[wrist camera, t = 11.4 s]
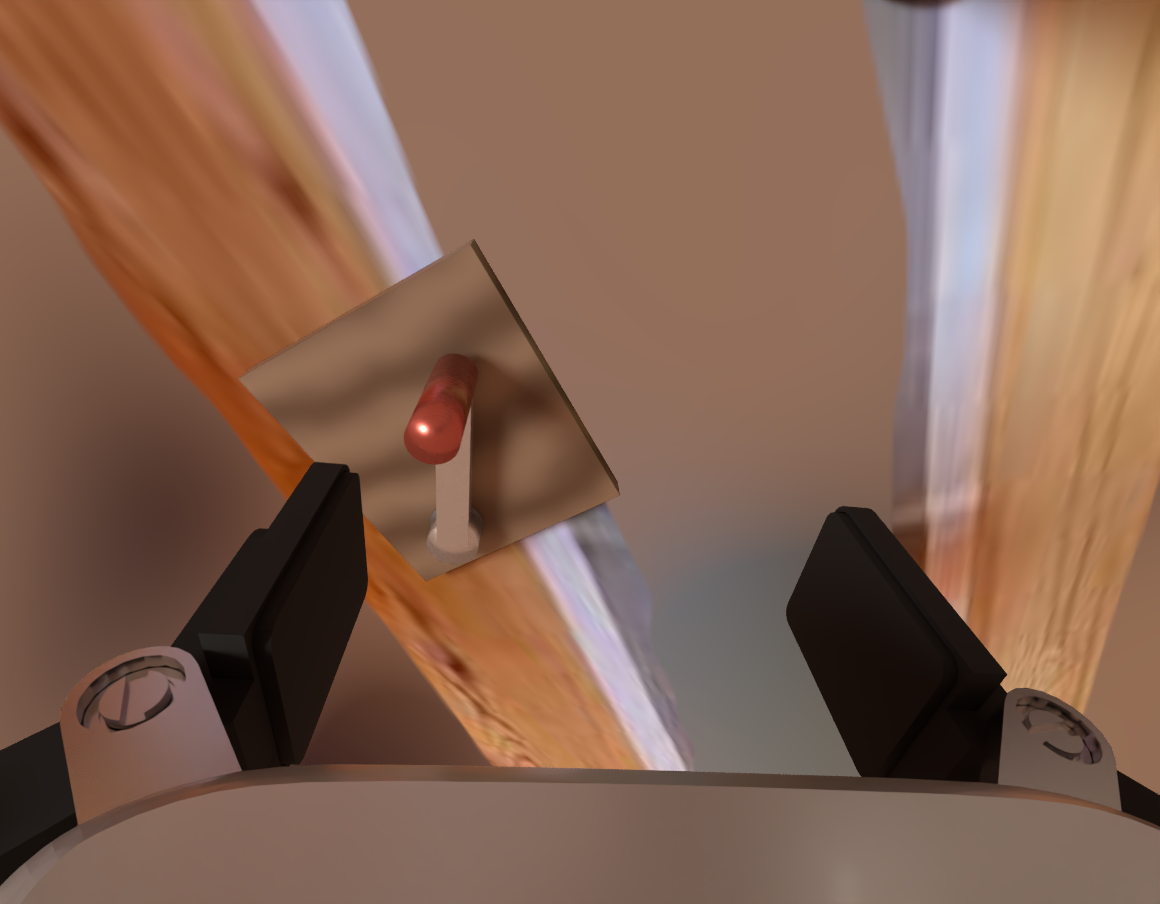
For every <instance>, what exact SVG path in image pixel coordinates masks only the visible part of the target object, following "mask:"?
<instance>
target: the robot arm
mask: <svg viewBox="0 0 1160 904" xmlns="http://www.w3.org/2000/svg"><path fill="white" fill-rule="evenodd" d="M367 585H368V574H367V562H366V549H365V537H364V525H363V512H362V500H361V488H360V478H359V474H358V473H352V472H350V469H349V467H348V465H346V464H336V463H325V462H314V463H313V464H312V465H311V466H310V468H309V469H308V471H307V472H306V474H305V475H304V477H303V478H302V480H301V481H300V483H299V484H298V486H297V487H296V488H295V490H294V491H293V493H292V494H291V496H290V497H289V499H288V500H287V502H286V503H285V505H284V506H283V508H282V509H281V511H280V512H279V514H278V515H277V517H276V518H275V520H274V521H273V523H272V524H271V526H270V527H269V529H257V530H255V531H254V532H253V533H252V534H251V535H250V536H249V537H248V539H247V540H246V541H245V543H244V544H243V546H242V547H241V548H240V550H239V551H238V553H237V554H236V555H235V557H234V558H233V560H232V561H231V563H230V564H229V565H228V567H227V568H226V569H225V571H224V572H223V574H222V575H221V576H220V578H219V579H218V581H217V582H216V584H215V585H214V586H213V588H212V589H211V591H210V592H209V594H208V595H207V596H206V598H205V599H204V601H203V602H202V603H201V605H200V606H199V608H198V609H197V610H196V612H195V613H194V615H193V616H192V617H191V619H190V620H189V622H188V623H187V624H186V626H185V627H184V629H183V630H182V632H181V633H180V634H179V636H178V637H177V638H176V640H175V641H174V643H173V644H172V646H171V647H166V646H157V647H148V648H141V649H138V650H135V651H132V652H129V653H125V654H122V655H120V656H118V657H116V658H114V659H112V660H110V661H108V662H106V663H104V664H102V665H100V666H99V667H98V668H96V669H95V670H94V671H92V672H91V673H89V674H88V675H86V676H85V677H84V678H83V679H82V680H81V681H80V682H79V683H78V684H77V685H76V686H75V687H74V689H72V691H71V692H70V693H69V695H68V696H67V698H66V700H65V702H64V704H63V706H62V708H61V715H60V722H58V723H56V724H54V725H52V726H50V727H48V728H46V729H44V730H42V731H40V732H38V733H35V734H33V735H31V736H29V737H27V738H25V739H23V740H21V741H19V742H17V743H15V744H13V745H11V746H9V747H7V748H5V749H2V750H0V904H1160V795H1158V794H1157V793H1155V792H1153V791H1151V790H1150V789H1148V788H1146V787H1144V786H1143V785H1141V784H1139V783H1138V782H1136V781H1135V780H1133V779H1131V778H1129V777H1128V776H1126V775H1124V774H1122V773H1121V772H1119V771H1117V769H1116V761H1115V757H1114V754H1113V751H1112V748H1111V746H1110V744H1109V743H1108V741H1107V740H1106V739H1105V737H1104V735H1103V734H1102V733H1101V732H1100V731H1099V730H1098V729H1097V728H1096V727H1095V726H1094V725H1093V724H1092V722H1091V721H1090V720H1088V719H1087V718H1086V717H1085V716H1084V715H1082V714H1081V713H1080V712H1078V711H1077V710H1076V709H1075V708H1073V707H1072V706H1070V705H1068V704H1067V703H1065V702H1063V701H1062V700H1060V699H1058V698H1056V697H1054V696H1052V695H1049V694H1047V693H1044V692H1042V691H1038V690H1034V689H1030V688H1015V689H1013V690H1012V691H1010V692H1008V693H1006V691H1005V690H1004V689H1003V688H1002V686H1001V685H1000V683H1001V682H1002V681H1003V679H1004V678H1005V677H1006V676H1007V673H1006V672H1005V671H1004V670H1003V669H1002V667H1001V666H1000V665H999V664H998V662H997V661H996V660H995V659H994V658H993V656H992V655H991V654H990V653H989V651H988V650H987V649H986V648H985V647H984V645H983V644H982V643H981V642H980V640H979V639H978V638H977V637H976V636H975V634H974V633H973V632H972V631H971V629H970V628H969V627H968V626H967V625H966V623H965V622H964V621H963V620H962V618H961V617H960V616H959V615H958V613H957V612H956V611H955V610H954V609H953V607H952V606H951V605H950V604H949V602H948V601H947V600H946V599H945V598H944V596H943V595H942V594H941V593H940V591H939V590H938V589H937V588H936V587H935V585H934V584H933V583H932V582H931V580H930V579H929V578H928V577H927V576H926V574H925V573H924V572H923V571H922V569H921V568H920V567H919V566H918V564H917V563H916V562H915V561H914V560H913V558H912V557H911V556H910V555H909V553H908V552H907V551H906V550H905V549H904V547H903V546H902V545H901V544H900V542H899V541H898V540H897V539H896V538H895V536H894V535H893V534H892V533H891V531H890V530H889V529H888V528H887V527H886V525H885V524H884V523H883V522H882V520H881V519H880V518H879V517H878V516H877V514H876V513H875V512H874V511H873V510H871V509H868V508H859V507H847V506H842V507H839V508H838V509H837V510H836V511H835V512H833V513H830V514H829V515H828V516H827V518H826V520H825V522H824V524H823V527H822V529H821V531H820V533H819V536H818V538H817V540H816V543H815V544H814V547H813V549H812V551H811V553H810V556H809V558H808V560H807V562H806V565H805V567H804V569H803V571H802V573H801V576H800V578H799V580H798V582H797V584H796V587H795V589H794V591H793V593H792V596H791V598H790V600H789V602H788V605H787V609H786V616H787V621H788V624H789V626H790V628H791V630H792V632H793V634H794V637H795V638H796V641H797V643H798V645H799V647H800V649H801V651H802V653H803V656H804V658H805V660H806V662H807V664H808V666H809V669H810V671H811V673H812V675H813V677H814V679H815V681H816V683H817V686H818V688H819V690H820V692H821V694H822V696H823V698H824V700H825V703H826V705H827V707H828V709H829V711H830V713H831V715H832V717H833V720H834V722H835V724H836V726H837V728H838V730H839V732H840V735H841V737H842V739H843V741H844V743H845V745H846V747H847V750H848V752H849V754H850V756H851V758H852V760H853V762H854V764H855V767H856V769H857V771H858V772H859V774H860V775H861V777H847V776H818V775H816V776H815V775H788V774H758V773H756V774H755V773H725V772H691V771H655V770H619V769H581V768H537V767H493V766H448V765H447V766H446V765H314V766H290V764H295V765H297V764H300V763H301V761H302V760H303V758H304V756H305V753H306V751H307V748H308V746H309V743H310V740H311V738H312V735H313V733H314V730H315V727H316V725H317V722H318V719H319V717H320V714H321V712H322V709H323V706H324V704H325V701H326V698H327V696H328V693H329V691H330V688H331V685H332V683H333V680H334V677H335V675H336V672H337V669H338V667H339V664H340V662H341V659H342V656H343V654H344V651H345V649H346V646H347V643H348V641H349V638H350V635H351V633H352V630H353V627H354V625H355V622H356V620H357V617H358V614H359V612H360V609H361V606H362V604H363V601H364V599H365V595H366V591H367Z"/></svg>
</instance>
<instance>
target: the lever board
mask: <svg viewBox="0 0 1160 904" xmlns="http://www.w3.org/2000/svg"><path fill="white" fill-rule="evenodd" d="M452 353H454V354H461V355H464V356H466V357H467V358H469V359H470V360H471V361H472V362H473V363H474V364H475V366H476V368H477V370H478V381H477V385H476V389H475V393H474V408H473V448H472V488H471V513H473V514H474V515H475V516H476V517H477V518H478V520H479V521H480V524H481V534H480V540H479V546H478V551H477V553H476V555H475V556H474V557H473V558H472V559H471V560H469V561H468V562H470V561H473V560H475V559H477V558H479V557H482V556H484V555H486V554H488V553H491V552H493V551H495V550H498V549H500V548H502V547H504V546H507V545H509V544H511V543H513V542H516V541H518V540H520V539H522V538H525V537H527V536H529V535H531V534H534V533H536V532H538V531H540V530H543V529H545V528H547V527H549V526H552V525H554V524H556V523H558V522H561V521H563V520H565V519H568V518H570V517H572V516H574V515H577V514H579V513H581V512H583V511H586V510H588V509H590V508H592V507H595V506H597V505H599V504H601V503H604V502H606V501H608V500H610V499H613V498H615V497H617V496H619V495H620V493H619V488H618V482H617V480H616V478H615V477H614V475H613V473H612V472H611V470H610V468H609V467H608V465H607V463H606V461H605V460H604V458H603V456H602V455H601V453H600V451H599V450H598V448H597V446H596V445H595V443H594V441H593V440H592V438H591V436H590V434H589V433H588V431H587V429H586V428H585V426H584V424H583V423H582V421H581V419H580V417H579V416H578V414H577V412H576V411H575V409H574V407H573V406H572V404H571V402H570V401H569V399H568V397H567V396H566V394H565V392H564V391H563V389H562V387H561V385H560V384H559V382H558V380H557V379H556V377H555V375H554V373H553V372H552V370H551V368H550V367H549V365H548V363H547V362H546V360H545V358H544V357H543V355H542V353H541V351H540V350H539V348H538V346H537V345H536V343H535V341H534V340H533V338H532V336H531V334H530V333H529V331H528V329H527V328H526V326H525V324H524V323H523V321H522V319H521V318H520V316H519V314H518V312H517V311H516V309H515V307H514V306H513V304H512V302H511V301H510V299H509V297H508V296H507V294H506V292H505V290H504V289H503V287H502V285H501V284H500V282H499V280H498V279H497V277H496V275H495V274H494V272H493V270H492V269H491V267H490V265H489V263H488V262H487V260H486V258H485V257H484V255H483V253H482V252H481V250H480V248H479V246H478V245H477V243H476V241H475V240H474V239H473V240H471V241H469V242H467V243H466V244H464V245H462V246H461V247H459V248H457V249H455V250H454V251H452V252H450V253H449V254H447V255H445V256H443V257H442V258H440V259H438V260H436V261H435V262H433V263H431V264H429V265H428V266H426V267H424V268H423V269H421V270H419V271H417V272H416V273H414V274H412V275H411V276H409V277H407V278H405V279H404V280H402V281H400V282H398V283H397V284H395V285H393V286H392V287H390V288H388V289H386V290H385V291H383V292H381V293H379V294H378V295H376V296H374V297H373V298H371V299H369V300H367V301H366V302H364V303H362V304H360V305H359V306H357V307H355V308H354V309H352V310H350V311H348V312H347V313H345V314H343V315H341V316H340V317H338V318H336V319H335V320H333V321H331V322H329V323H328V324H326V325H324V326H323V327H321V328H319V329H317V330H316V331H314V332H312V333H310V334H309V335H307V336H305V337H304V338H302V339H300V340H298V341H297V342H295V343H293V344H291V345H290V346H288V347H286V348H285V349H283V350H281V351H279V352H278V353H276V354H274V355H272V356H271V357H269V358H267V359H266V360H264V361H262V362H260V363H259V364H257V365H255V366H253V367H252V368H250V369H249V370H248V371H247V372H246V373H245V374H243V375H242V376H241V377H240V378H239V380H240V381H241V383H242V384H243V385H244V386H245V387H246V388H247V389H248V390H249V391H250V392H251V393H252V394H253V395H254V397H255V398H256V399H257V400H258V401H259V402H260V403H261V404H262V405H263V406H264V407H265V408H266V410H267V411H268V412H269V413H270V414H271V415H272V416H273V417H274V418H275V419H276V420H277V421H278V422H279V424H280V425H281V426H282V427H283V428H284V429H285V430H286V431H287V432H288V433H289V434H290V435H291V437H292V438H293V439H294V440H295V441H296V442H297V443H298V444H299V445H300V446H301V447H302V448H303V449H304V451H305V452H306V453H307V454H308V455H309V456H310V457H311V458H312V459H313V460H314V461H315V462H325V463H336V464H346V465H348V467H349V469H350V472H352V473H358V474H359V478H360V488H361V500H362V512H363V514H364V515H365V516H366V518H367V519H368V520H369V521H370V522H371V523H372V524H373V525H374V526H375V527H376V528H377V529H378V530H379V532H380V533H381V534H382V535H383V536H384V537H385V538H386V539H387V540H388V541H389V542H390V543H391V545H392V546H393V547H394V548H395V549H396V550H397V551H398V552H399V553H400V554H401V555H402V556H403V557H404V559H405V560H406V561H407V562H408V563H409V564H410V565H411V566H412V567H413V568H414V569H415V570H416V572H417V573H418V574H419V575H420V576H421V577H422V578H423V579H424V580H425V581H428V580H430V579H432V578H434V577H437V576H439V575H441V574H443V573H446V572H448V571H450V570H452V569H455V568H457V567H459V566H461V565H464V564H466V563H468V562H465V563H462V564H447V563H443V562H441V561H439V560H437V559H435V558H434V557H433V556H432V555H431V554H430V552H429V551H428V548H427V538H428V535H429V531H430V528H431V524H432V521H433V518H434V517H435V516H436V465H432V464H426V463H423V462H421V461H419V460H417V459H415V458H414V457H413V456H412V455H411V454H410V453H409V452H408V450H407V449H406V447H405V444H404V432H405V429H406V427H407V425H408V423H409V420H410V418H411V416H412V414H413V412H414V409H415V407H416V405H417V403H418V401H419V398H420V396H421V394H422V392H423V390H424V387H425V385H426V383H427V381H428V379H429V376H430V374H431V372H432V370H433V368H434V366H435V364H436V362H437V361H438V360H439V359H440V358H441V357H442V356H444V355H447V354H452Z"/></svg>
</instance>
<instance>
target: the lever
mask: <svg viewBox="0 0 1160 904" xmlns="http://www.w3.org/2000/svg"><path fill="white" fill-rule="evenodd" d="M477 381H478V370H477V368H476V366H475V364H474V363H473V362H472V361H471V360H470V359H469V358H467V357H466V356H464V355H461V354H454V353H452V354H447V355H444V356H442V357H441V358H440V359H439V360H438V361H437V362H436V364H435V366H434V368H433V370H432V372H431V374H430V376H429V379H428V381H427V383H426V385H425V387H424V390H423V392H422V394H421V396H420V398H419V401H418V403H417V405H416V407H415V409H414V412H413V414H412V416H411V418H410V420H409V423H408V425H407V427H406V429H405V432H404V444H405V447H406V449H407V450H408V452H409V453H410V454H411V455H412V456H413V457H414V458H415V459H417V460H419V461H421V462H423V463H426V464H432V465H436V516H435V517H434V518H433V521H432V524H431V528H430V531H429V535H428V538H427V548H428V551H429V552H430V554H431V555H432V556H433V557H434V558H435V559H437V560H439V561H441V562H443V563H447V564H462V563H465V562H468V561H469V560H471V559H472V558H473V557H474V556H475V555H476V553H477V551H478V546H479V540H480V534H481V524H480V521H479V520H478V518H477V517H476V516H475V515H474V514H473V513H471V488H472V448H473V408H474V393H475V389H476V385H477Z"/></svg>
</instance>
